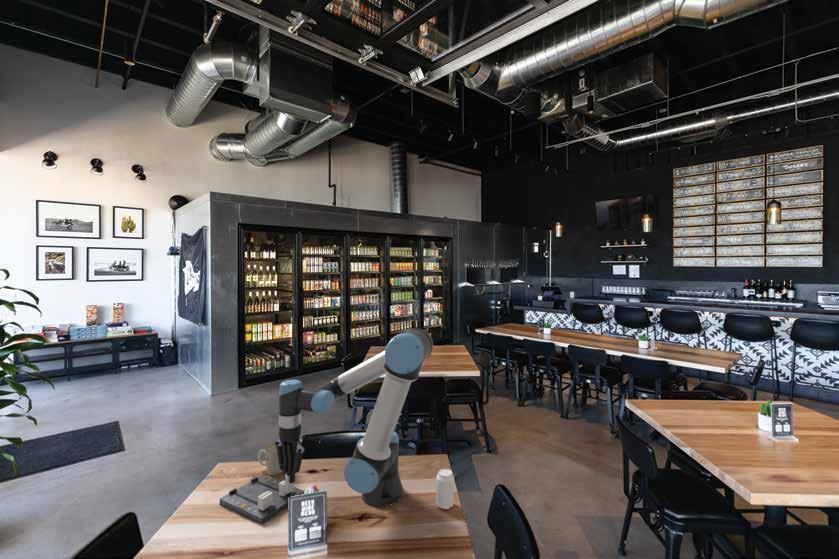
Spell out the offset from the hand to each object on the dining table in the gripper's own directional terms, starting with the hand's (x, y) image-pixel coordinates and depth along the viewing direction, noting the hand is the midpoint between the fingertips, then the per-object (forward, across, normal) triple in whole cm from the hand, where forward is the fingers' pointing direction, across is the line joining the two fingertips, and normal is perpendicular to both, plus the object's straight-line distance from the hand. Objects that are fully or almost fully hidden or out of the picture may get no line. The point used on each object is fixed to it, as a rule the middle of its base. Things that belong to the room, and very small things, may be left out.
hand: (289, 490), depth 134 cm
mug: (+4, +22, -11) cm, 25 cm away
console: (+4, +8, +4) cm, 10 cm away
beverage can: (+3, -50, -24) cm, 55 cm away
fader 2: (+1, +2, 0) cm, 2 cm away
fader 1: (+1, +2, +9) cm, 9 cm away
